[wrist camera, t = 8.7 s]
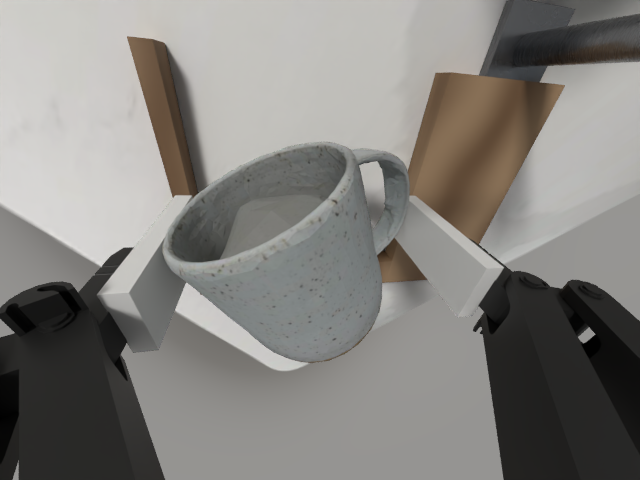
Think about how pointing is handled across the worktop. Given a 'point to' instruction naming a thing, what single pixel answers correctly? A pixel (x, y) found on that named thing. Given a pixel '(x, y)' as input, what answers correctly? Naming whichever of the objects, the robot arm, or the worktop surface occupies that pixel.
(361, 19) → the worktop surface
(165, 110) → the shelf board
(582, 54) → the bent metal bar
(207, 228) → the ceramic mug
